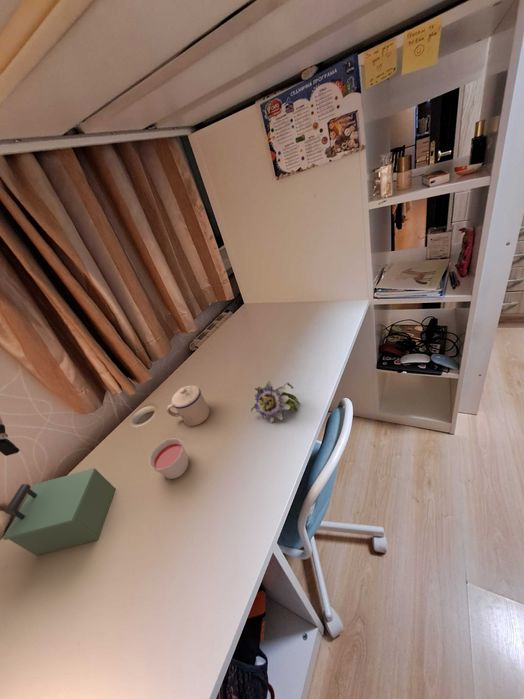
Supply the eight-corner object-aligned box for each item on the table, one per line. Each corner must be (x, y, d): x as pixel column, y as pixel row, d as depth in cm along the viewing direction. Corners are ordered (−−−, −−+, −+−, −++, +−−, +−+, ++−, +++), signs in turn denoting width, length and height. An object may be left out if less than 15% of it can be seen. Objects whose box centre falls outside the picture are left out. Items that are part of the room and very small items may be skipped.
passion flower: (277, 432, 84) (244, 417, 79) (279, 401, 91) (248, 385, 86) (304, 419, 77) (270, 401, 72) (304, 386, 84) (272, 367, 80)
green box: (36, 555, 67) (8, 539, 63) (62, 502, 78) (40, 485, 73) (97, 540, 66) (74, 522, 61) (115, 488, 77) (96, 469, 72)
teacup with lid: (210, 401, 95) (197, 375, 89) (210, 421, 87) (195, 394, 81) (176, 412, 95) (160, 387, 89) (173, 433, 88) (155, 407, 81)
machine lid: (4, 540, 63) (-15, 528, 60) (37, 485, 73) (21, 473, 70) (73, 522, 61) (57, 509, 59) (96, 469, 72) (83, 456, 69)
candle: (156, 466, 79) (145, 453, 75) (186, 446, 82) (176, 432, 78) (166, 490, 72) (154, 476, 69) (197, 467, 75) (187, 453, 72)
